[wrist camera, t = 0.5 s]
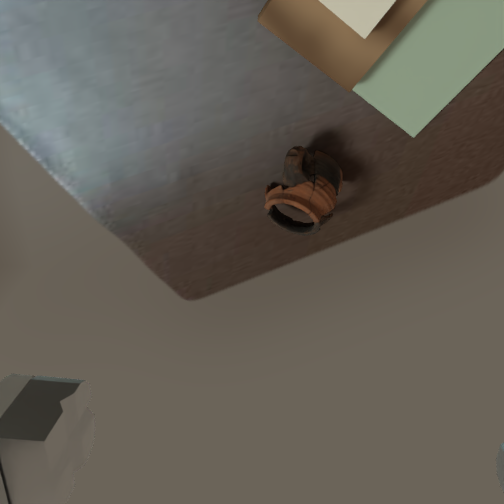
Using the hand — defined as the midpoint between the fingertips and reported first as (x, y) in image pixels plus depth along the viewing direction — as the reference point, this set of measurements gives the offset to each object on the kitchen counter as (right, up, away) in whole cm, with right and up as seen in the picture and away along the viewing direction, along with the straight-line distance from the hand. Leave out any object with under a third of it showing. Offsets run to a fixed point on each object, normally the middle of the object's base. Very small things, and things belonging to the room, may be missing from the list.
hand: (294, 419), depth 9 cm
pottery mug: (+6, +13, +49) cm, 51 cm away
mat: (+19, +24, +39) cm, 50 cm away
